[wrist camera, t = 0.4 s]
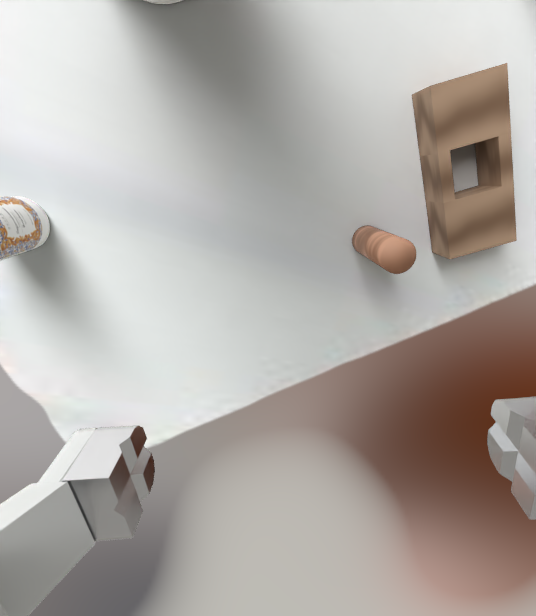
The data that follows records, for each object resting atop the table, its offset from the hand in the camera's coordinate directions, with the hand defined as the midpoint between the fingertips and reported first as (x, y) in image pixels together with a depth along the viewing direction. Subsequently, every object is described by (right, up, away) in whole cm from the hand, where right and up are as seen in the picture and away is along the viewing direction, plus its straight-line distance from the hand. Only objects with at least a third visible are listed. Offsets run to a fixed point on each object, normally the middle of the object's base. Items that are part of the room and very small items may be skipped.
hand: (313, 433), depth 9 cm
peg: (+13, +13, +45) cm, 49 cm away
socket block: (+24, +22, +43) cm, 54 cm away
